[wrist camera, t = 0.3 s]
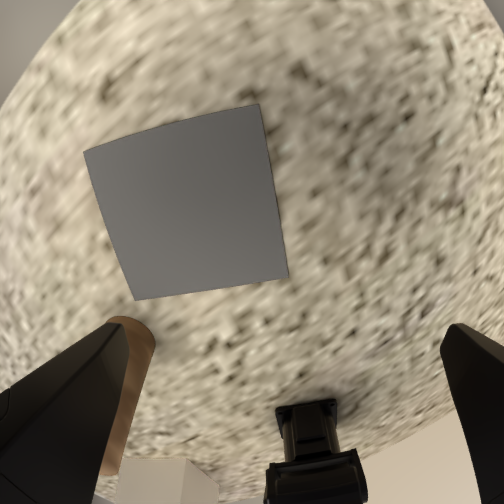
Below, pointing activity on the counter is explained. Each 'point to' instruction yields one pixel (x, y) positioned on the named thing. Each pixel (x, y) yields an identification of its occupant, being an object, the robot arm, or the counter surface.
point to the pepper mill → (128, 390)
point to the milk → (164, 482)
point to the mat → (191, 204)
